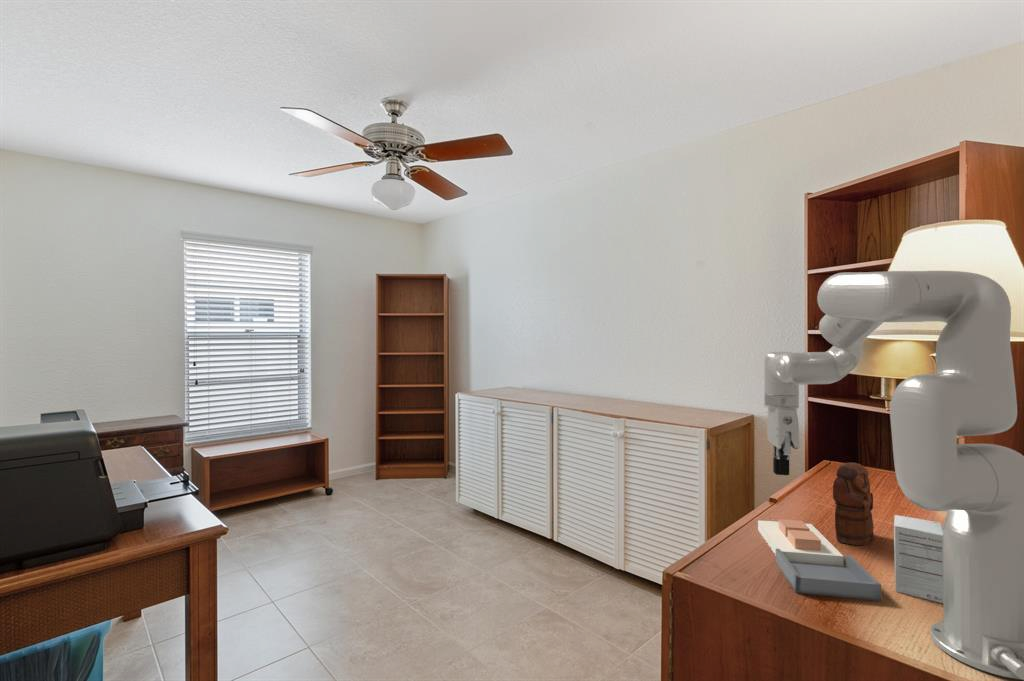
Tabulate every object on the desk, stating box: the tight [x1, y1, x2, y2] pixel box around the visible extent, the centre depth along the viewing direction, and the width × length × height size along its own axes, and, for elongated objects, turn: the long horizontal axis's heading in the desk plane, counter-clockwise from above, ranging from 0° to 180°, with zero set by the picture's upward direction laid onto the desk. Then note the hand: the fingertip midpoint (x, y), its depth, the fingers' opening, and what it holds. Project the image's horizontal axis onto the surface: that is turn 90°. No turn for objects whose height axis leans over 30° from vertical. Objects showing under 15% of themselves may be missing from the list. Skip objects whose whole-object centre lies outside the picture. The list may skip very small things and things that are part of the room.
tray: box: [775, 549, 882, 602], centre depth 96 cm, size 13×14×3 cm
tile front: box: [788, 530, 821, 551], centre depth 107 cm, size 5×5×2 cm
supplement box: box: [893, 514, 944, 604], centre depth 92 cm, size 7×7×13 cm
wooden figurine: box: [832, 462, 875, 546], centre depth 115 cm, size 12×6×18 cm, turn 129°
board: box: [757, 520, 845, 566], centre depth 111 cm, size 18×12×2 cm, turn 167°
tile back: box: [778, 518, 810, 537], centre depth 113 cm, size 5×5×2 cm
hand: (781, 473), depth 121 cm, fingers closed
